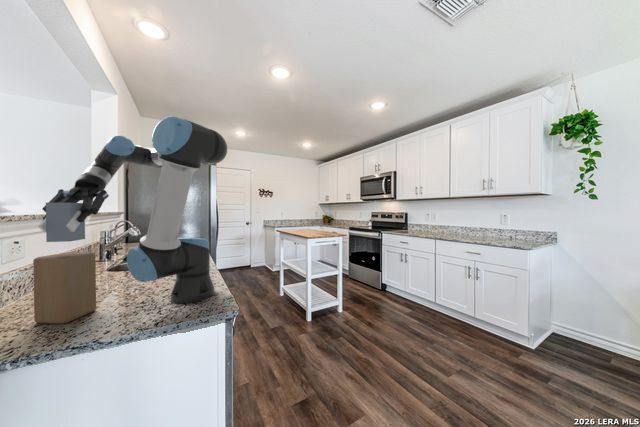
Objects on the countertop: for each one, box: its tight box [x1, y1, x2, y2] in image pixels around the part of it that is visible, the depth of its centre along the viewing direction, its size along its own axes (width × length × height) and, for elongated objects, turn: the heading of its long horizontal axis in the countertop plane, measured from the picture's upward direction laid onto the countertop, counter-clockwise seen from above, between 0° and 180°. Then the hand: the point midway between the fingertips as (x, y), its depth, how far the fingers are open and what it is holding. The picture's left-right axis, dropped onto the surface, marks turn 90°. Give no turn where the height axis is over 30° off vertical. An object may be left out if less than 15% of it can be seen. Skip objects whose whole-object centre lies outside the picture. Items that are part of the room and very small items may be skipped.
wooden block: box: [32, 251, 97, 324], centre depth 74 cm, size 10×10×20 cm
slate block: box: [45, 202, 86, 243], centre depth 74 cm, size 6×6×12 cm
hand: (56, 229), depth 71 cm, fingers closed on slate block, 6 cm apart
